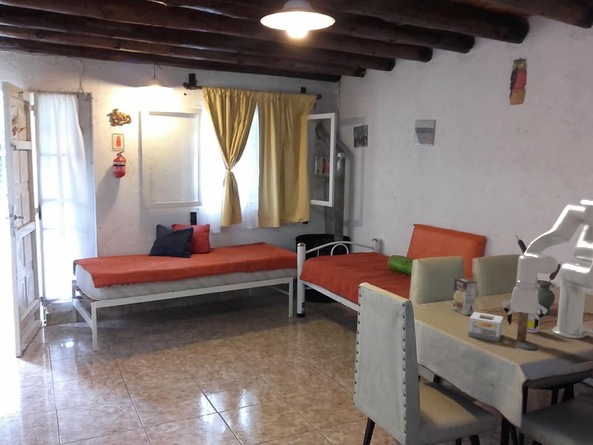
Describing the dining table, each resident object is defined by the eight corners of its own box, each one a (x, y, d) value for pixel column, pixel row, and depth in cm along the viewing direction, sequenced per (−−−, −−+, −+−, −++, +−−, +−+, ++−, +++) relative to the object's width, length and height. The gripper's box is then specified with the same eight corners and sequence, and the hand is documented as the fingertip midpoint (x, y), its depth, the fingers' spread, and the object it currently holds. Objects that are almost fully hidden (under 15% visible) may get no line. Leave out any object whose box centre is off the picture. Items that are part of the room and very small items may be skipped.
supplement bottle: (524, 327, 234) (526, 299, 232) (540, 330, 229) (542, 302, 228) (519, 330, 228) (522, 302, 227) (535, 334, 224) (538, 305, 223)
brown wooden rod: (526, 340, 217) (529, 307, 215) (525, 342, 214) (528, 309, 212) (517, 338, 218) (519, 306, 217) (516, 340, 215) (518, 308, 213)
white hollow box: (501, 334, 222) (503, 316, 221) (498, 341, 214) (499, 322, 213) (472, 329, 228) (473, 311, 227) (468, 336, 219) (469, 317, 218)
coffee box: (451, 309, 257) (453, 278, 255) (462, 308, 259) (464, 277, 257) (463, 315, 249) (466, 282, 247) (474, 314, 251) (477, 281, 249)
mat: (537, 346, 210) (537, 345, 210) (536, 351, 204) (536, 350, 204) (519, 342, 213) (519, 341, 213) (517, 348, 207) (517, 347, 207)
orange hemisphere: (491, 324, 221) (491, 320, 221) (490, 327, 218) (490, 322, 217) (481, 323, 223) (482, 318, 223) (480, 325, 219) (480, 321, 219)
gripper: (549, 286, 212) (546, 327, 214) (504, 280, 220) (501, 319, 222) (548, 290, 206) (544, 332, 208) (502, 284, 214) (499, 324, 216)
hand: (522, 325), depth 215 cm, fingers open, 9 cm apart
